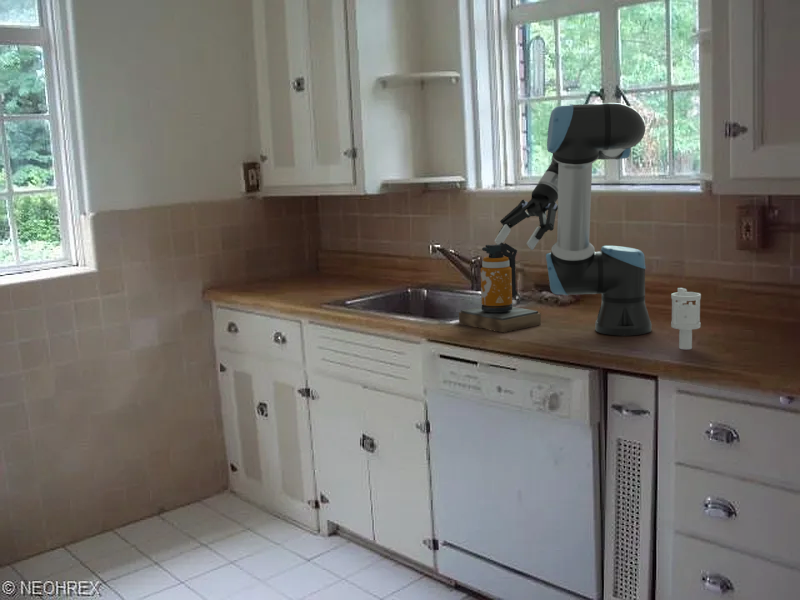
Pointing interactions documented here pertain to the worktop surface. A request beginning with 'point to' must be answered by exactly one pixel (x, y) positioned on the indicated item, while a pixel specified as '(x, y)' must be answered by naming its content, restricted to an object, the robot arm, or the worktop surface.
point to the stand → (500, 319)
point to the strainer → (685, 315)
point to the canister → (498, 278)
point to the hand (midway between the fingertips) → (513, 245)
